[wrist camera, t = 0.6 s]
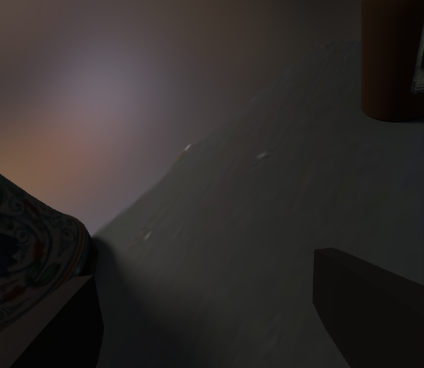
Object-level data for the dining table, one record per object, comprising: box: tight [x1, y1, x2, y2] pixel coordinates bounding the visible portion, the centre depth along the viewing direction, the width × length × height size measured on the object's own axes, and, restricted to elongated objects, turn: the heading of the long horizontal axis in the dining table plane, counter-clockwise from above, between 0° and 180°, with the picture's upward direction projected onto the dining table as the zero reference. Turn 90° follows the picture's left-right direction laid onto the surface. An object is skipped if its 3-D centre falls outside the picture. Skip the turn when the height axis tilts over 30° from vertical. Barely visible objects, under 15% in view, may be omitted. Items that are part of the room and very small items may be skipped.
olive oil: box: [361, 0, 424, 121], centre depth 36 cm, size 11×11×25 cm
